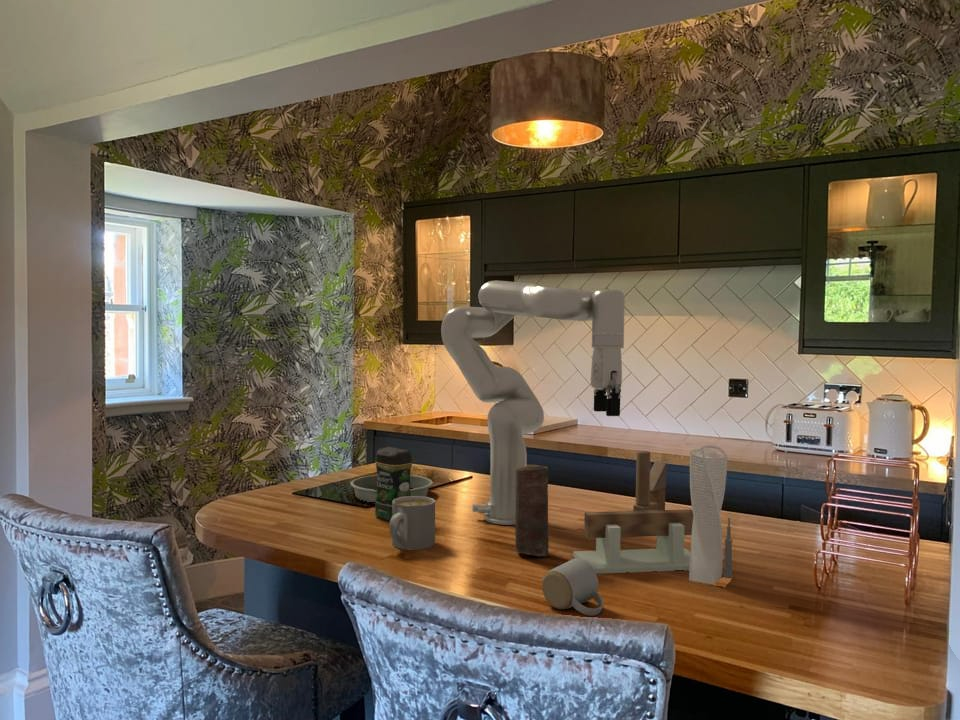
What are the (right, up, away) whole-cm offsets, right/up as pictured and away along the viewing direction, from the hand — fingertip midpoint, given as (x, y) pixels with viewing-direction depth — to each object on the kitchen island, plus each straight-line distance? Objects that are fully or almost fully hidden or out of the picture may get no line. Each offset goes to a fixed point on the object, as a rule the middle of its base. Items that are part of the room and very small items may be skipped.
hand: (606, 413), depth 172 cm
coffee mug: (-47, -30, -5) cm, 56 cm away
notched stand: (+4, -31, -16) cm, 35 cm away
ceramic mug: (-13, -32, -42) cm, 54 cm away
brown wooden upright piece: (+16, -30, +24) cm, 41 cm away
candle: (-19, -31, -11) cm, 38 cm away
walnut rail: (+4, -25, -17) cm, 30 cm away
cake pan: (-57, -29, +45) cm, 78 cm away
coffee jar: (-53, -29, +19) cm, 64 cm away
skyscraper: (+16, -32, -27) cm, 45 cm away
